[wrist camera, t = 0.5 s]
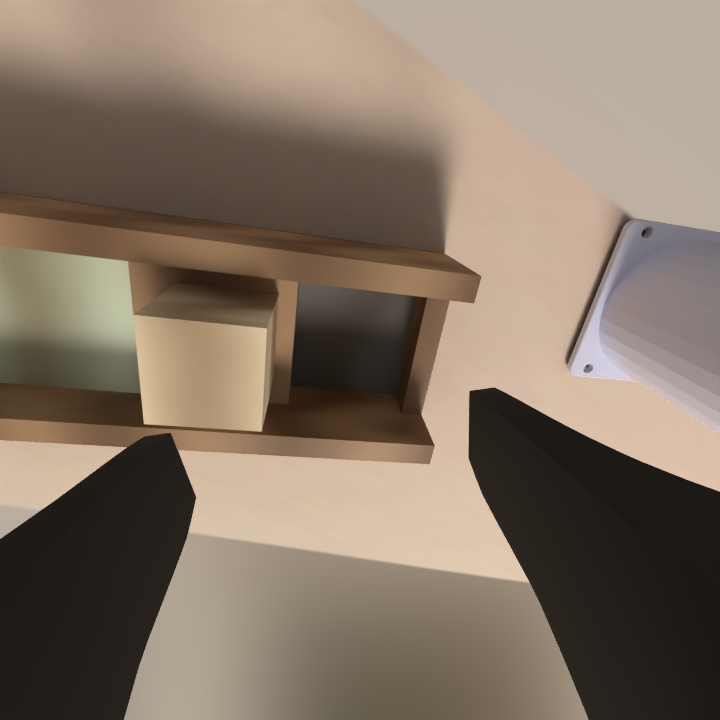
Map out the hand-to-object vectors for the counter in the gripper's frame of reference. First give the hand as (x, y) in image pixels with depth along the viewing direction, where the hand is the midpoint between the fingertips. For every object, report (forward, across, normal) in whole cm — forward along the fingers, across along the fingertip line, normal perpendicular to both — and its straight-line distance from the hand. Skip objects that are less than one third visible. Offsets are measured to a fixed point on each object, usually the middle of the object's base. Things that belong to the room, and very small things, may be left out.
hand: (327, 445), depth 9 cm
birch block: (+8, +4, 0) cm, 9 cm away
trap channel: (+10, +8, -1) cm, 13 cm away
